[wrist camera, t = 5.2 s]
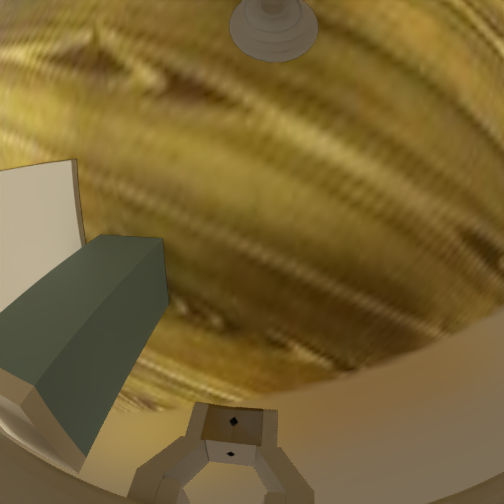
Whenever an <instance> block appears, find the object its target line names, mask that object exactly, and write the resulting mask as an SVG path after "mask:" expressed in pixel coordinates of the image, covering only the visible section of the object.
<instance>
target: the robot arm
mask: <svg viewBox="0 0 504 504" xmlns="http://www.w3.org/2000/svg"><path fill="white" fill-rule="evenodd" d="M277 428H278V410H268V409H264V410H263V409H258V408H244V407H230V406H222V405H215V404H209V403H202V402H196V403H195V405H194V407H193V411H192V414H191V418H190V421H189V425H188V428H187V431H186V435H185V437H184V436H181V437H179V438H178V439H177V440H175V441H174V442H173V443H172V444H170V445H169V446H168V447H167V448H165V449H164V450H162V451H161V452H160V453H158V454H157V455H155V456H154V457H153V458H151V459H150V460H149V461H147V462H146V463H144V464H143V465H141V466H140V467H139V468H137V470H136V473H135V475H134V478H133V481H132V484H131V487H130V489H129V492H128V495H127V498H126V497H123V496H120V495H117V494H114V493H112V492H109V491H107V490H104V489H102V488H99V487H97V486H94V485H92V484H90V483H87V482H85V481H83V480H81V479H79V478H76V477H74V476H72V475H70V474H68V473H66V472H64V471H62V470H60V469H58V468H56V467H55V466H53V465H51V464H49V463H47V462H45V461H44V460H42V459H40V458H38V457H37V456H35V455H33V454H32V453H30V452H28V451H27V450H25V449H24V448H22V447H21V446H19V445H17V444H16V443H15V442H13V441H12V440H10V439H9V438H7V437H6V436H4V435H3V434H2V433H0V504H190V501H189V499H188V497H187V495H186V493H185V492H184V490H183V487H184V486H185V485H186V484H187V483H188V482H189V481H190V480H191V479H192V478H193V477H194V476H195V475H196V474H197V473H198V472H200V470H202V469H203V468H204V467H205V465H207V463H209V461H211V462H220V463H230V464H237V465H246V466H254V469H255V470H256V472H257V474H258V476H259V477H260V479H261V481H262V483H263V484H264V486H265V487H266V489H267V491H268V493H267V494H266V495H265V496H264V499H263V503H262V504H314V491H313V489H312V488H311V487H310V485H308V483H307V482H306V480H305V479H304V478H303V476H302V475H301V474H300V473H299V471H298V470H297V469H296V467H295V466H294V465H293V463H292V462H291V461H290V459H289V458H288V457H287V455H286V454H285V452H284V451H283V450H282V448H280V447H277V431H278V430H277ZM426 504H504V472H502V473H500V474H498V475H496V476H494V477H492V478H490V479H488V480H486V481H484V482H481V483H479V484H477V485H475V486H472V487H470V488H468V489H465V490H463V491H461V492H458V493H455V494H453V495H450V496H447V497H445V498H442V499H439V500H436V501H433V502H429V503H426Z"/></svg>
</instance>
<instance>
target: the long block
mask: <svg viewBox="0 0 504 504" xmlns="http://www.w3.org/2000/svg"><path fill="white" fill-rule="evenodd" d="M168 304H169V298H168V290H167V281H166V271H165V261H164V250H163V238H147V237H131V236H115V235H99V236H97V237H96V238H95V239H93V240H92V241H90V242H89V243H87V244H86V245H85V246H83V247H82V248H80V249H79V250H78V251H76V252H75V253H74V254H72V255H71V256H69V257H68V258H67V259H65V260H64V261H63V262H61V263H60V264H59V265H57V266H56V267H55V268H54V269H52V270H51V271H50V272H48V273H47V274H46V275H45V276H43V277H42V278H41V279H40V280H38V281H37V282H36V283H35V284H33V285H32V286H31V287H30V288H29V289H27V290H26V291H25V292H24V293H23V294H21V295H20V296H19V297H18V298H17V299H15V300H14V301H13V302H12V303H11V304H10V305H9V306H7V307H6V308H5V309H4V310H3V311H2V312H1V313H0V426H1V427H2V428H3V429H4V431H5V432H7V433H8V434H10V435H11V436H12V437H14V438H15V439H17V440H18V441H20V442H22V443H23V444H25V445H26V446H28V447H29V448H31V449H33V450H34V451H36V452H38V453H39V454H41V455H43V456H45V457H46V458H48V459H50V460H52V461H54V462H56V463H57V464H59V465H61V466H63V467H65V468H67V469H69V470H71V471H73V472H75V473H77V474H79V472H80V470H81V468H82V465H83V464H84V461H85V459H86V457H87V455H88V453H89V451H90V449H91V447H92V445H93V443H94V441H95V438H96V437H97V435H98V433H99V430H100V428H101V427H102V425H103V423H104V421H105V419H106V417H107V415H108V413H109V411H110V409H111V407H112V405H113V403H114V401H115V400H116V398H117V396H118V394H119V392H120V390H121V388H122V386H123V384H124V383H125V381H126V379H127V377H128V375H129V373H130V371H131V370H132V368H133V366H134V364H135V362H136V361H137V359H138V357H139V355H140V353H141V352H142V350H143V348H144V346H145V344H146V343H147V341H148V339H149V337H150V336H151V334H152V332H153V330H154V329H155V327H156V325H157V323H158V322H159V320H160V318H161V316H162V315H163V313H164V311H165V310H166V308H167V306H168Z"/></svg>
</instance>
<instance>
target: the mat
mask: <svg viewBox="0 0 504 504" xmlns="http://www.w3.org/2000/svg"><path fill="white" fill-rule="evenodd" d="M85 245H86V242H85V236H84V229H83V222H82V215H81V207H80V198H79V188H78V177H77V161H76V159H73V160H65V161H57V162H50V163H43V164H37V165H31V166H25V167H19V168H14V169H8V170H3V171H0V313H1V312H2V311H3V310H4V309H5V308H6V307H7V306H9V305H10V304H11V303H12V302H13V301H14V300H15V299H17V298H18V297H19V296H20V295H21V294H23V293H24V292H25V291H26V290H27V289H29V288H30V287H31V286H32V285H33V284H35V283H36V282H37V281H38V280H40V279H41V278H42V277H43V276H45V275H46V274H47V273H48V272H50V271H51V270H52V269H54V268H55V267H56V266H57V265H59V264H60V263H61V262H63V261H64V260H65V259H67V258H68V257H69V256H71V255H72V254H74V253H75V252H76V251H78V250H79V249H80V248H82V247H83V246H85Z"/></svg>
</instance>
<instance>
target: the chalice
mask: <svg viewBox="0 0 504 504" xmlns="http://www.w3.org/2000/svg"><path fill="white" fill-rule="evenodd" d="M229 24H230V34H231V36H232V39H233V41H234V43H235V44H236V45H237V46H238V47H239V48H240V50H241V51H242V52H243V53H245V54H247V55H249V56H251V57H253V58H254V59H257V60H262V61H266V62H285V61H288V60H292V59H295V58H298V57H299V56H301V55H302V54H304V53H305V52H307V51H308V50H309V49H310V47H311V46H312V45H313V44H314V42H315V40H316V37H317V34H318V23H317V18H316V16H315V14H314V12H313V11H312V9H311V8H310V7H309V6H308V5H307V4H306V3H305V2H304V1H303V0H242V1H241V2H240V4H239V5H238V6H237V7H236V8H235V10H234V11H233V13H232V16H231V19H230V21H229Z"/></svg>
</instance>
